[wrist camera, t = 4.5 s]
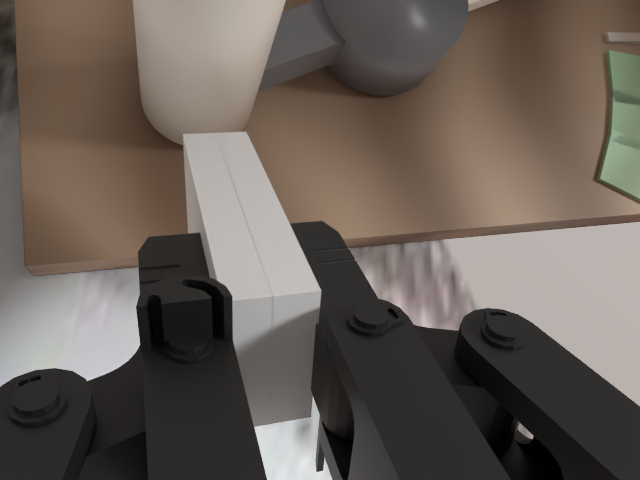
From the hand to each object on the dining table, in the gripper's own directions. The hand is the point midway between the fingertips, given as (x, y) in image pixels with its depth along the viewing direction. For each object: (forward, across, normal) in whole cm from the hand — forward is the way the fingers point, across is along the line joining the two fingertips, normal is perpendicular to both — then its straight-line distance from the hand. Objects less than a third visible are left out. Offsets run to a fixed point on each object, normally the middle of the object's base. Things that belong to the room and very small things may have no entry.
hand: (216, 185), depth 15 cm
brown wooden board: (+10, +8, +1) cm, 13 cm away
